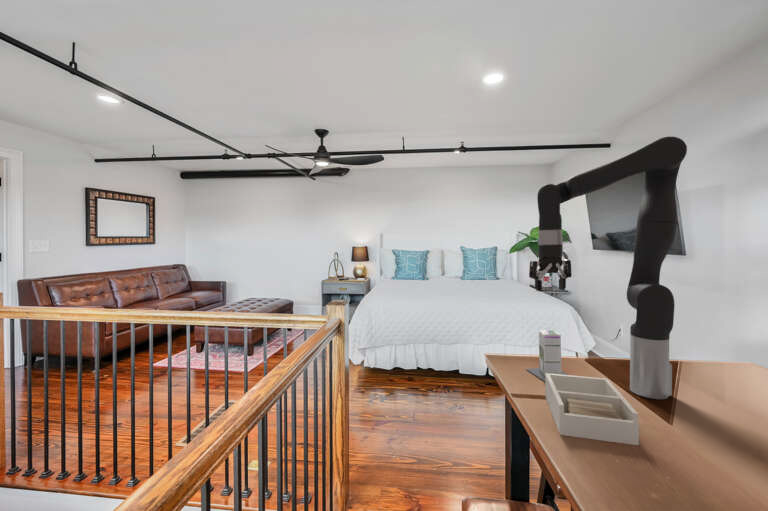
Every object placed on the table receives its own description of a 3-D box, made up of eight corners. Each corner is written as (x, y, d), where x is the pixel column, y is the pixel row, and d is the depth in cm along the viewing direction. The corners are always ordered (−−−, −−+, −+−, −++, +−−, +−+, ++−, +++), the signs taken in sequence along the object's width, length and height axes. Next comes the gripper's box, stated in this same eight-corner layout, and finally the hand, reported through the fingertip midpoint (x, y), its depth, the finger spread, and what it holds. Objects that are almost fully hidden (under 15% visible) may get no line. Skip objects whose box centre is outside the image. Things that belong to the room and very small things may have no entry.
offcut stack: (563, 421, 87) (563, 398, 86) (617, 427, 83) (617, 403, 83) (567, 432, 82) (567, 407, 81) (625, 439, 78) (625, 414, 78)
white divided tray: (545, 396, 101) (545, 373, 100) (607, 402, 96) (607, 378, 96) (559, 434, 81) (559, 405, 80) (638, 445, 76) (639, 414, 76)
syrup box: (562, 377, 113) (562, 334, 113) (543, 376, 114) (543, 334, 114) (556, 371, 119) (556, 330, 119) (538, 370, 120) (538, 329, 120)
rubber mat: (554, 368, 123) (554, 366, 123) (575, 380, 112) (575, 378, 112) (526, 370, 122) (526, 368, 122) (545, 382, 111) (545, 381, 111)
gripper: (561, 243, 121) (562, 288, 121) (524, 243, 119) (525, 289, 119) (576, 243, 114) (576, 291, 114) (537, 243, 111) (537, 292, 112)
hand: (550, 290), depth 117 cm, fingers open, 8 cm apart
